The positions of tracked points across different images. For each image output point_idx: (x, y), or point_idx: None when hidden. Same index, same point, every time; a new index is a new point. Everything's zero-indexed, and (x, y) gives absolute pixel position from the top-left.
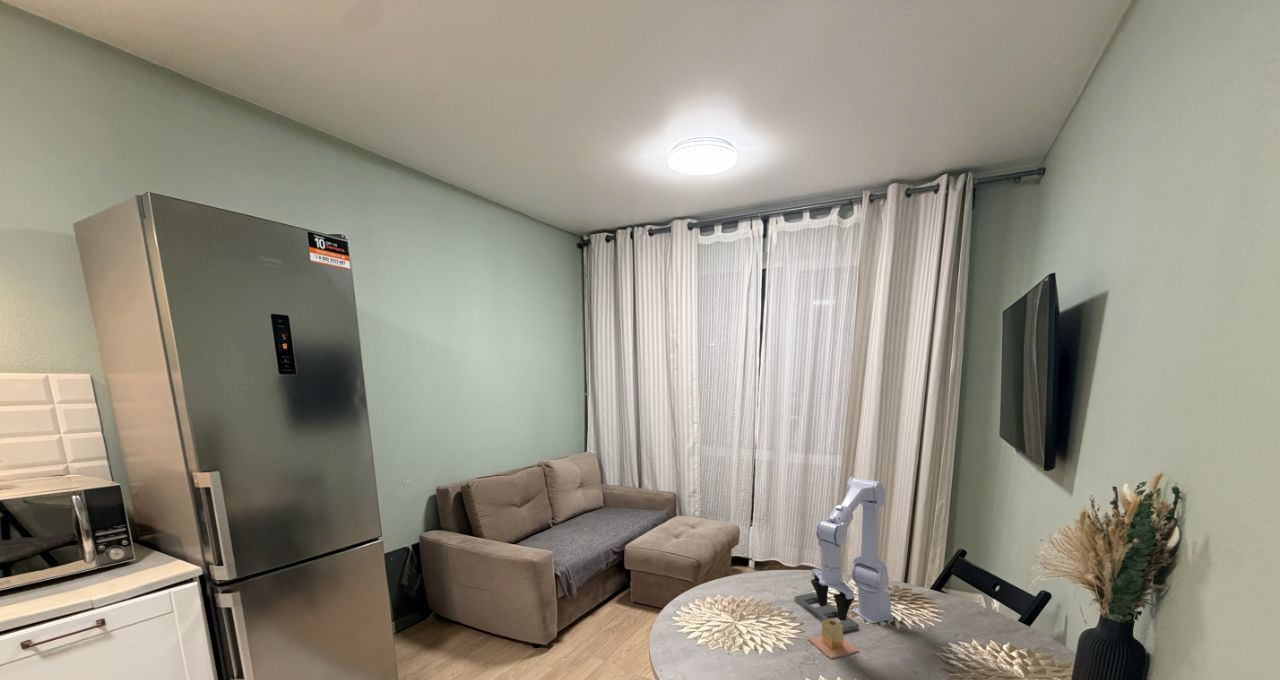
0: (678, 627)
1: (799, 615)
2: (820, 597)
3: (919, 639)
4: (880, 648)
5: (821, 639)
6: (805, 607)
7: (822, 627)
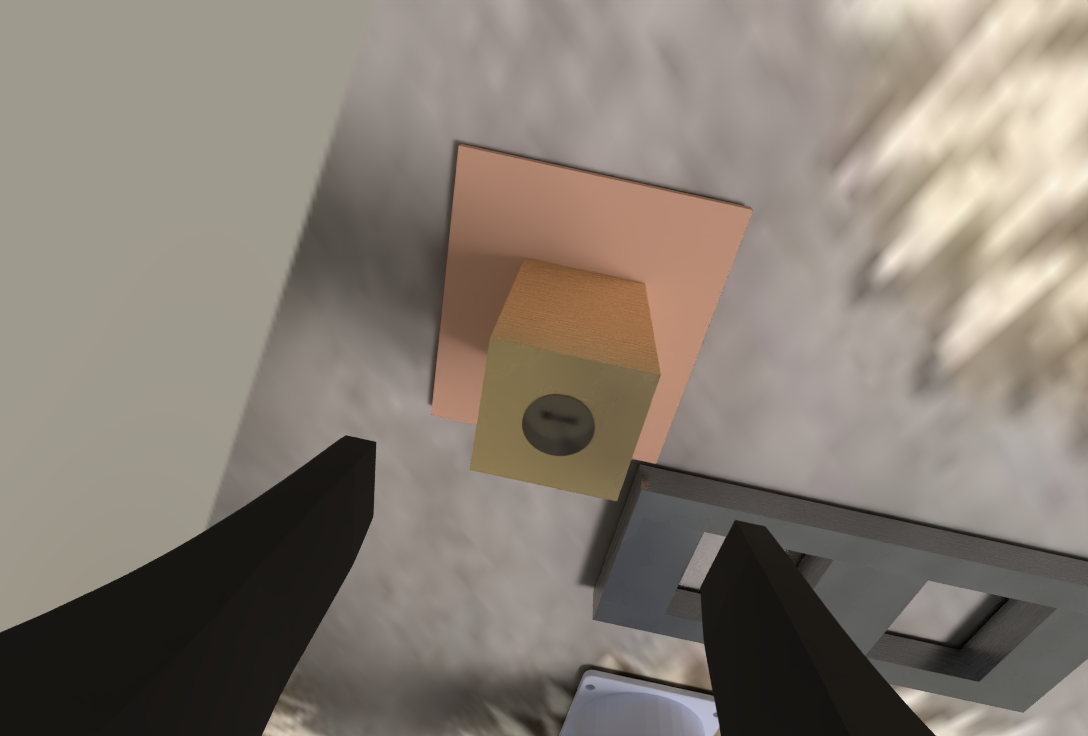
0: None
1: (998, 448)
2: (781, 646)
3: (389, 697)
4: (412, 531)
5: (667, 303)
6: (998, 551)
7: (646, 336)
